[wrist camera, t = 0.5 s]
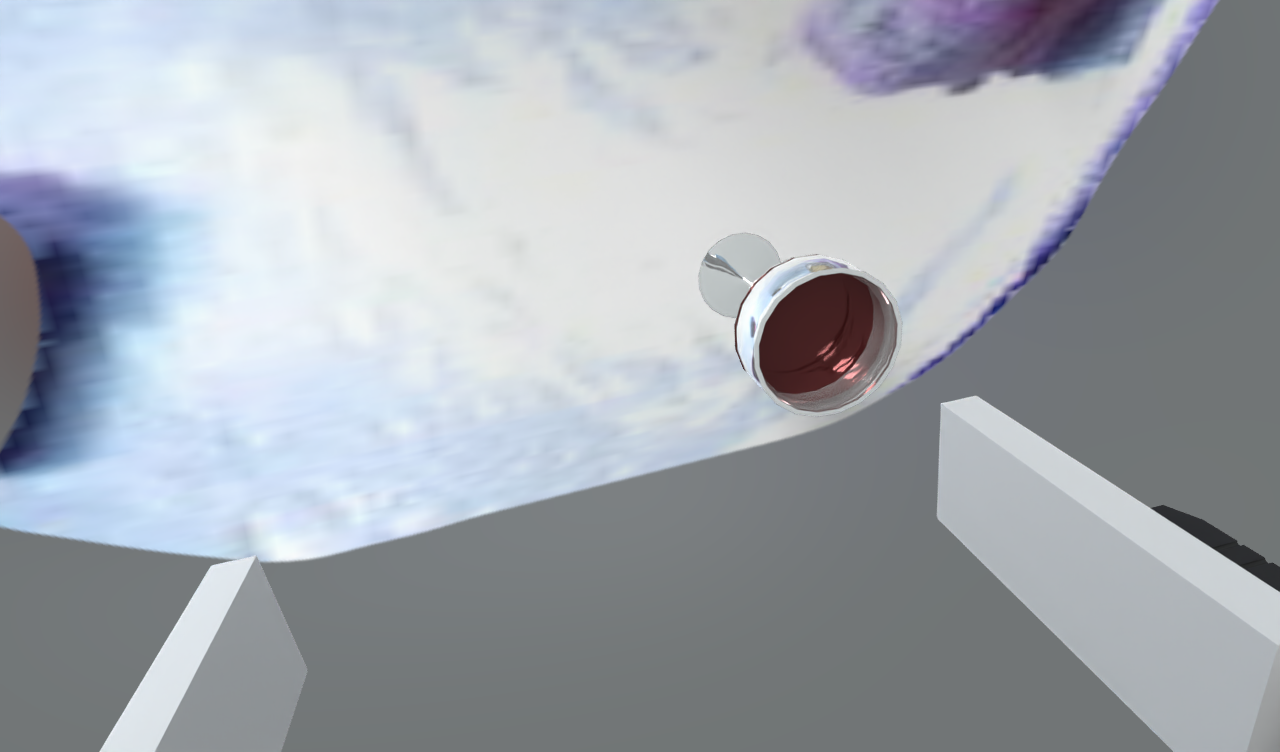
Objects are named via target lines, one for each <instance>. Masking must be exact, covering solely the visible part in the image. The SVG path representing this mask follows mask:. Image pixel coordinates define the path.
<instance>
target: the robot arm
mask: <svg viewBox="0 0 1280 752" xmlns="http://www.w3.org/2000/svg"><path fill="white" fill-rule="evenodd" d="M938 471H939V472H938V499H937V500H938V501H937V519H938V520H939V521H940V522H941V523H942V524H943V525H944V526H945V527H946V528H947V529H948V530H950V532H952V533H953V534H954V535H955V536H956V537H957V538H958V539H959V540H960V541H961V542H962V543H963V544H964V545H965V546H966V547H967V548H968V549H969V550H970V551H971V552H972V553H973V554H974V555H975V556H976V557H977V558H978V559H979V560H980V561H981V562H982V563H983V564H984V565H985V566H986V567H987V568H988V569H989V570H990V571H991V572H992V573H993V574H994V575H995V576H996V577H997V578H998V579H999V580H1000V581H1001V582H1002V583H1003V584H1004V585H1005V586H1006V587H1007V588H1008V589H1009V590H1010V591H1011V592H1012V593H1013V594H1014V595H1015V596H1016V597H1017V598H1018V599H1019V600H1020V601H1022V603H1024V604H1025V605H1026V606H1027V607H1028V608H1029V609H1030V610H1031V611H1032V612H1033V613H1034V614H1035V615H1036V616H1037V617H1038V618H1039V619H1040V620H1041V621H1042V622H1043V623H1044V624H1045V625H1046V626H1047V627H1048V628H1049V629H1050V630H1051V631H1052V632H1053V633H1054V634H1055V635H1056V636H1057V637H1058V638H1059V639H1060V640H1061V641H1062V642H1063V643H1064V644H1065V645H1066V646H1067V647H1068V648H1069V649H1070V650H1071V651H1072V652H1073V653H1074V654H1075V655H1076V656H1077V657H1078V658H1079V659H1080V660H1081V661H1082V662H1083V663H1084V664H1085V665H1086V666H1087V667H1089V669H1090V670H1091V671H1092V672H1093V673H1095V674H1096V675H1097V676H1098V677H1099V678H1100V679H1101V680H1102V681H1103V682H1104V683H1105V684H1106V685H1107V686H1108V687H1109V688H1110V689H1111V690H1112V691H1113V692H1114V693H1115V694H1116V695H1117V696H1118V697H1119V698H1120V699H1121V700H1122V701H1123V702H1124V703H1125V704H1126V705H1127V706H1128V707H1129V708H1130V709H1131V710H1132V711H1133V712H1134V713H1135V714H1136V715H1137V716H1138V717H1139V718H1140V719H1141V720H1142V721H1143V722H1144V723H1145V724H1146V725H1148V727H1149V728H1151V730H1152V731H1153V732H1154V733H1155V734H1157V736H1159V738H1160V739H1161V740H1162V741H1163V742H1165V744H1166V745H1168V746H1169V747H1170V748H1171V749H1172V750H1173V751H1174V752H1280V567H1279V566H1277V565H1276V564H1274V563H1267V562H1266V560H1265V558H1264V557H1263V556H1261V555H1259V554H1258V553H1256V552H1254V551H1253V550H1251V549H1250V548H1248V547H1246V546H1244V545H1242V546H1240V545H1238V543H1237V540H1235V539H1233V538H1232V537H1230V536H1228V535H1227V534H1225V533H1224V532H1222V531H1220V530H1219V529H1217V528H1215V527H1214V526H1212V525H1210V524H1209V523H1207V522H1206V521H1204V520H1202V519H1199V518H1196V517H1194V516H1191V515H1188V514H1185V513H1183V512H1180V511H1177V510H1175V509H1172V508H1170V507H1167V506H1164V505H1161V506H1157V507H1153V508H1149V507H1147V506H1146V505H1144V504H1143V503H1141V502H1139V501H1138V500H1137V499H1135V498H1134V497H1132V496H1130V495H1129V494H1127V493H1126V492H1124V491H1122V490H1121V489H1119V488H1118V487H1117V486H1115V485H1113V484H1112V483H1110V482H1109V481H1107V480H1106V479H1104V478H1103V477H1101V476H1100V475H1098V474H1096V473H1095V472H1093V471H1092V470H1090V469H1089V468H1087V467H1086V466H1084V465H1083V464H1081V463H1080V462H1078V461H1076V460H1075V459H1073V458H1072V457H1070V456H1069V455H1067V454H1066V453H1064V452H1062V451H1061V450H1059V449H1058V448H1056V447H1055V446H1053V445H1052V444H1050V443H1049V442H1047V441H1045V440H1044V439H1043V438H1041V437H1039V436H1038V435H1036V434H1035V433H1033V432H1032V431H1030V430H1029V429H1027V428H1025V427H1024V426H1022V425H1021V424H1019V423H1018V422H1016V421H1015V420H1013V419H1012V418H1010V417H1008V416H1007V415H1005V414H1004V413H1002V412H1001V411H999V410H998V409H996V408H994V407H993V406H992V405H990V404H988V403H987V402H985V401H984V400H982V399H981V398H979V397H978V396H972V397H968V398H963V399H959V400H954V401H950V402H945V403H941V412H940V442H939V470H938ZM307 671H308V670H307V667H306V665H305V663H304V661H303V659H302V656H301V654H300V652H299V650H298V647H297V645H296V643H295V641H294V638H293V636H292V634H291V632H290V629H289V627H288V625H287V623H286V621H285V618H284V616H283V614H282V612H281V609H280V607H279V605H278V603H277V601H276V598H275V596H274V594H273V592H272V589H271V587H270V585H269V583H268V580H267V578H266V576H265V574H264V571H263V569H262V567H261V565H260V563H259V560H258V558H257V556H252V557H248V558H243V559H239V560H234V561H230V562H225V563H221V564H217V565H212V566H211V567H210V569H209V570H208V572H207V574H206V575H205V577H204V579H203V581H202V582H201V584H200V585H199V587H198V589H197V590H196V592H195V594H194V595H193V597H192V599H191V600H190V602H189V604H188V605H187V607H186V609H185V611H184V612H183V614H182V615H181V617H180V619H179V621H178V622H177V624H176V625H175V627H174V629H173V630H172V632H171V634H170V636H169V637H168V639H167V641H166V642H165V644H164V646H163V647H162V649H161V650H160V652H159V654H158V655H157V657H156V659H155V660H154V662H153V664H152V665H151V667H150V669H149V670H148V672H147V674H146V675H145V677H144V679H143V680H142V682H141V684H140V685H139V687H138V689H137V690H136V692H135V694H134V696H133V697H132V699H131V700H130V702H129V704H128V705H127V707H126V709H125V710H124V712H123V714H122V715H121V717H120V718H119V720H118V722H117V723H116V725H115V727H114V729H113V730H112V732H111V733H110V735H109V737H108V738H107V740H106V742H105V744H104V745H103V747H102V749H101V750H100V752H281V750H282V747H283V744H284V741H285V738H286V735H287V732H288V729H289V726H290V723H291V720H292V717H293V713H294V711H295V708H296V704H297V701H298V698H299V695H300V692H301V689H302V686H303V683H304V680H305V677H306V674H307Z"/></svg>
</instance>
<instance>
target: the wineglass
mask: <svg viewBox="0 0 1280 752" xmlns="http://www.w3.org/2000/svg"><path fill="white" fill-rule="evenodd" d="M699 288H700V291H701V294H702V296H703V298H704V301H705V302H706V303H707V304H708V305H709V306H710V307H711V309H712V310H714V311H716V312H718V313H719V314H721V315H723V316H729V317H735V318H736V321H735V325H734V326H735V349H736V352H737V354H738V357H739V359H740V362H741V364H742V367H743V369H744V370H745V371H746V372H747V374H748V375H749V376H750V377H751V378H752V379H753V380H754V381H755V382H756V384H757V385H758V386H759V387H760V388H762V389H763V390H764V391H765V392H766V393H767V394H768V395H769V396H770V398H771V399H772V400H773V401H774V402H775V403H776V404H777V405H779V406H781V407H783V408H785V409H787V410H789V411H791V412H793V413H794V414H800V415H807V416H814V417H819V416H825V415H831V414H836V413H840V412H842V411H844V410H847V409H849V408H851V407H853V406H855V405H857V404H859V403H861V402H862V401H863V400H864V399H866V398H867V397H868V396H869V395H870V394H872V393H873V392H874V391H875V390H876V389H877V388H879V386H880V385H881V384H882V382H883V381H884V379H885V378H886V376H887V375H888V374H889V372H890V371H891V369H892V368H893V366H894V363H895V360H896V357H897V355H898V352H899V349H900V346H901V335H902V320H901V316H900V312H899V309H898V305H897V301H896V300H895V299H894V297H893V296H892V294H891V293H890V292H889V290H888V289H887V288H886V286H885V285H884V284H883V283H882V282H880V281H879V280H877V279H875V278H874V277H872V276H871V275H869V274H867V273H866V272H863V271H861V270H859V269H858V268H856V267H855V266H853V265H852V264H850V263H848V262H847V261H845V260H843V259H838V258H833V257H828V256H823V255H817V254H812V255H804V256H797V257H791V258H789V259H787V260H785V261H783V262H781V263H780V260H779V257H778V254H777V251H776V250H775V249H774V248H773V246H772V245H771V244H770V243H769V242H768V241H766V240H765V239H763V238H762V237H760V236H758V235H753V234H748V233H741V234H733V235H731V236H728V237H726V238H724V239H722V240H720V241H719V242H718V243H717V244H715V245H714V246H713V247H712V248H711V249H710V250H709V251H708V253H707V255H706V256H705V258H704V260H703V261H702V264H701V268H700V272H699Z"/></svg>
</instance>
